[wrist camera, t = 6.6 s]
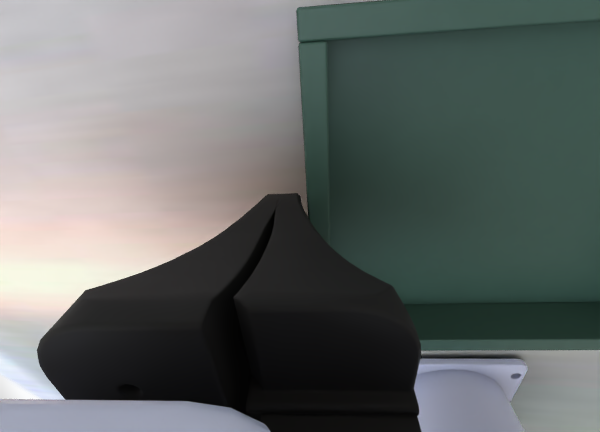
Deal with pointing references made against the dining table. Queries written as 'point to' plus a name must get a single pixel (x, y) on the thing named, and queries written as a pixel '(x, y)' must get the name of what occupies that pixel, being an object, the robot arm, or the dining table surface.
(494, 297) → the tray
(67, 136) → the dining table surface
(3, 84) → the dining table surface
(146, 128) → the dining table surface
